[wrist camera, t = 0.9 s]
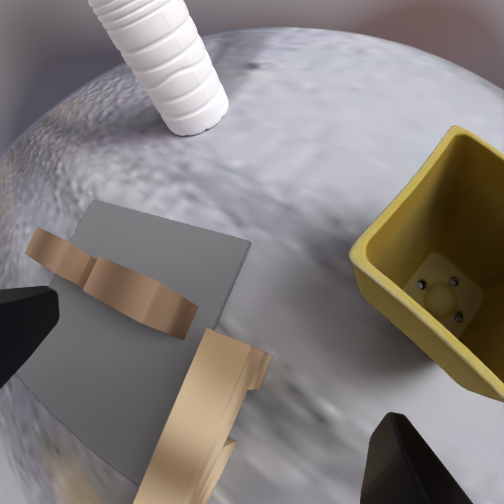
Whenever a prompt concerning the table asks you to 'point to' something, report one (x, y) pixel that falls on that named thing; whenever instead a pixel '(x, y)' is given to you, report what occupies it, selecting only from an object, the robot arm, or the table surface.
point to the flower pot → (444, 261)
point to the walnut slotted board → (115, 284)
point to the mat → (129, 334)
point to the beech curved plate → (202, 422)
